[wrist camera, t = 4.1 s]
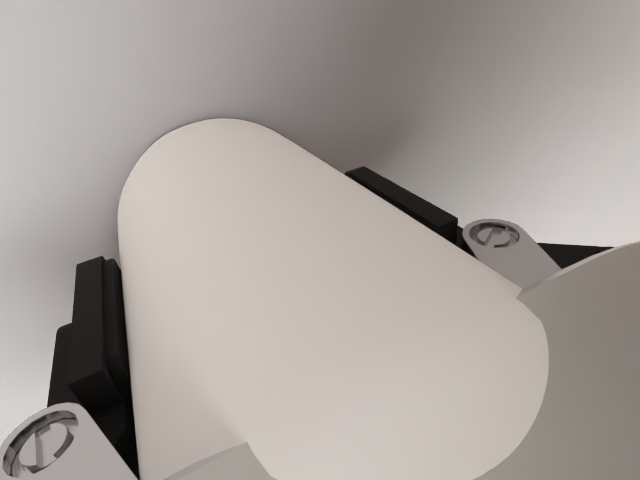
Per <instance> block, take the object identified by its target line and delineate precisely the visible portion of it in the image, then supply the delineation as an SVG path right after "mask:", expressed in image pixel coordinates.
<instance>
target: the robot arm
mask: <svg viewBox="0 0 640 480" xmlns="http://www.w3.org/2000/svg"><path fill="white" fill-rule="evenodd" d="M345 175H346V176H347V177H349V178H350V179H352V180H354V181H355V182H357V183H358V184H360V185H362V186H363V187H365V188H366V189H368V190H369V191H371V192H373V193H374V194H376V195H377V196H379V197H380V198H382V199H383V200H385V201H387V202H388V203H390V204H391V205H393V206H394V207H396V208H398V209H399V210H401V211H402V212H404V213H405V214H407V215H409V216H410V217H412V218H413V219H415V220H416V221H418V222H420V223H421V224H423V225H424V226H426V227H427V228H429V229H430V230H432V231H434V232H435V233H437V234H438V235H440V236H441V237H443V238H444V239H446V240H448V241H449V242H451V243H452V244H454V245H455V246H457V247H458V248H460V249H462V250H463V251H465V252H466V253H468V254H469V255H471V256H472V257H474V258H476V259H477V260H479V261H480V262H482V263H483V264H485V265H486V266H488V267H489V268H491V269H492V270H494V271H496V272H497V273H499V274H500V275H502V276H503V277H505V278H506V279H508V280H509V281H511V282H512V283H514V284H516V285H517V286H519V287H520V288H522V290H521V292H520V293H519V294H518V296H517V297H516V299H517V300H519V301H520V302H521V303H523V304H524V305H525V306H526V307H527V308H528V309H529V310H530V311H531V312H532V313H533V314H534V315H535V316H536V317H537V318H538V319H539V320H540V321H541V322H542V325H543V327H544V330H545V333H546V337H547V342H548V350H549V370H548V379H547V384H546V390H545V394H544V397H543V401H542V404H541V407H540V409H539V412H538V414H537V416H536V419H535V421H534V422H533V424H532V426H531V428H530V429H529V431H528V433H527V434H526V436H525V437H524V439H523V440H522V441H521V443H520V444H519V446H518V447H517V448H516V449H515V450H514V451H513V452H512V453H511V454H510V455H509V456H508V457H507V458H506V459H504V460H503V461H502V462H501V463H499V464H498V465H497V466H496V467H494V468H492V469H490V470H489V471H487V472H486V473H484V474H483V475H481V476H479V477H477V478H475V479H473V480H640V241H638V242H634V243H630V244H626V245H622V246H618V247H598V246H581V245H564V244H547V243H536V242H535V241H534V240H533V239H532V238H531V237H530V236H529V235H528V234H527V233H526V232H525V231H524V230H523V229H522V228H521V227H519V226H518V225H516V224H514V223H511V222H509V221H504V220H499V219H482V220H478V221H474V222H472V223H470V224H468V225H467V226H466V227H465V228H464V229H463V228H461V227H459V226H458V225H457V224H458V218H456V217H455V216H453V215H451V214H449V213H447V212H446V211H444V210H442V209H440V208H438V207H436V206H435V205H433V204H431V203H429V202H427V201H426V200H424V199H422V198H420V197H418V196H417V195H415V194H413V193H411V192H409V191H408V190H406V189H404V188H402V187H400V186H399V185H397V184H395V183H393V182H391V181H390V180H388V179H386V178H384V177H382V176H380V175H379V174H377V173H375V172H373V171H371V170H370V169H368V168H366V167H360V168H357V169H354V170H351V171H348V172H346V173H345ZM0 480H140V476H139V465H138V454H137V444H136V433H135V422H134V412H133V401H132V390H131V379H130V368H129V357H128V346H127V335H126V324H125V312H124V301H123V289H122V278H121V270H120V268H119V266H118V264H117V263H116V261H115V260H114V259H113V258H112V259H109V260H107V261H106V260H105V258H104V257H103V256H100V257H97V258H94V259H91V260H88V261H86V262H83V263H80V264H77V268H76V280H75V292H74V304H73V316H72V323H70V324H67V325H64V326H62V327H60V328H59V329H58V330H57V334H56V342H55V350H54V357H53V365H52V373H51V381H50V389H49V396H48V404H47V408H45V409H43V410H41V411H39V412H37V413H36V414H34V415H32V416H31V417H29V418H28V419H26V420H25V421H24V422H23V423H22V424H20V425H19V426H18V427H17V428H15V429H14V430H13V432H12V433H11V434H10V435H9V436H8V437H7V438H6V439H5V440H4V442H3V443H2V445H1V446H0ZM164 480H277V479H275V478H273V477H271V476H270V475H269V474H268V472H267V471H266V470H265V468H264V467H263V466H262V464H261V463H260V462H259V460H258V459H257V458H256V456H255V455H254V454H253V452H252V450H251V448H250V446H249V444H248V442H246V443H243V444H241V445H238V446H235V447H232V448H230V449H227V450H225V451H222V452H220V453H217V454H214V455H212V456H210V457H207V458H205V459H203V460H200V461H198V462H196V463H193V464H191V465H189V466H187V467H186V468H184V469H182V470H180V471H178V472H177V473H175V474H173V475H171V476H169V477H168V478H166V479H164Z"/></svg>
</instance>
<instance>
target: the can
mask: <svg viewBox="0 0 640 480" xmlns="http://www.w3.org/2000/svg"><path fill="white" fill-rule="evenodd" d="M118 239H119V253H120V265H121V278H122V289H123V301H124V312H125V324H126V335H127V346H128V357H129V368H130V379H131V390H132V401H133V412H134V422H135V433H136V444H137V454H138V465H139V476H140V480H164V479H166V478H168V477H169V476H171V475H173V474H175V473H177V472H178V471H180V470H182V469H184V468H186V467H187V466H189V465H191V464H193V463H196V462H198V461H200V460H203V459H205V458H207V457H210V456H212V455H214V454H217V453H220V452H222V451H225V450H227V449H230V448H232V447H235V446H238V445H241V444H243V443H246V442H248V444H249V446H250V448H251V450H252V452H253V454H254V455H255V456H256V458H257V459H258V460H259V462H260V463H261V464H262V466H263V467H264V468H265V470H266V471H267V472H268V474H269V475H270V476H271V477H273V478H275V479H277V480H473V479H475V478H477V477H479V476H481V475H483V474H484V473H486V472H487V471H489V470H490V469H492V468H494V467H496V466H497V465H498V464H499V463H501V462H502V461H503V460H504V459H506V458H507V457H508V456H509V455H510V454H511V453H512V452H513V451H514V450H515V449H516V448H517V447H518V446H519V444H520V443H521V441H522V440H523V439H524V437H525V436H526V434H527V433H528V431H529V429H530V428H531V426H532V424H533V422H534V421H535V419H536V416H537V414H538V412H539V409H540V407H541V404H542V401H543V397H544V394H545V390H546V384H547V379H548V370H549V350H548V342H547V337H546V333H545V330H544V327H543V325H542V322H541V321H540V320H539V319H538V318H537V317H536V316H535V315H534V314H533V313H532V312H531V311H530V310H529V309H528V308H527V307H526V306H525V305H524V304H523V303H521V302H520V301H519V300H517V299H516V297H517V296H518V294H519V293H520V292H521V290H522V288H520V287H519V286H517V285H516V284H514V283H512V282H511V281H509V280H508V279H506V278H505V277H503V276H502V275H500V274H499V273H497V272H496V271H494V270H492V269H491V268H489V267H488V266H486V265H485V264H483V263H482V262H480V261H479V260H477V259H476V258H474V257H472V256H471V255H469V254H468V253H466V252H465V251H463V250H462V249H460V248H458V247H457V246H455V245H454V244H452V243H451V242H449V241H448V240H446V239H444V238H443V237H441V236H440V235H438V234H437V233H435V232H434V231H432V230H430V229H429V228H427V227H426V226H424V225H423V224H421V223H420V222H418V221H416V220H415V219H413V218H412V217H410V216H409V215H407V214H405V213H404V212H402V211H401V210H399V209H398V208H396V207H394V206H393V205H391V204H390V203H388V202H387V201H385V200H383V199H382V198H380V197H379V196H377V195H376V194H374V193H373V192H371V191H369V190H368V189H366V188H365V187H363V186H362V185H360V184H358V183H357V182H355V181H354V180H352V179H350V178H349V177H347V176H346V175H344V174H343V173H341V172H339V171H338V170H336V169H335V168H333V167H332V166H330V165H328V164H327V163H325V162H324V161H322V160H320V159H319V158H317V157H316V156H314V155H312V154H311V153H309V152H308V151H306V150H304V149H303V148H301V147H300V146H298V145H296V144H295V143H293V142H292V141H290V140H288V139H287V138H285V137H283V136H282V135H280V134H278V133H276V132H275V131H273V130H271V129H269V128H267V127H264V126H262V125H259V124H256V123H253V122H250V121H245V120H240V119H230V118H218V119H209V120H203V121H198V122H195V123H191V124H188V125H185V126H183V127H180V128H178V129H175V130H173V131H171V132H169V133H167V134H166V135H164V136H162V137H161V138H159V139H158V140H157V141H156V142H155V143H153V144H152V145H151V146H150V147H149V148H148V149H147V150H146V151H145V153H144V154H143V155H142V156H141V157H140V159H139V160H138V162H137V163H136V165H135V166H134V168H133V169H132V171H131V173H130V175H129V177H128V179H127V181H126V183H125V185H124V188H123V190H122V193H121V197H120V201H119V207H118Z"/></svg>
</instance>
